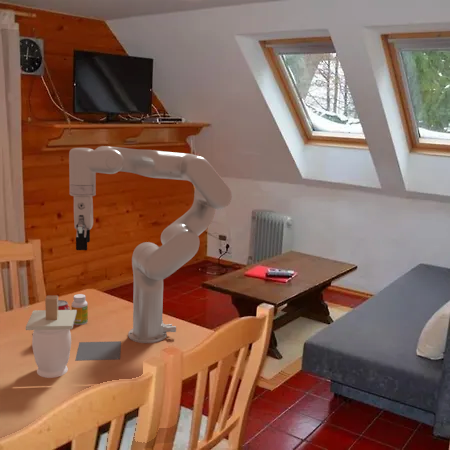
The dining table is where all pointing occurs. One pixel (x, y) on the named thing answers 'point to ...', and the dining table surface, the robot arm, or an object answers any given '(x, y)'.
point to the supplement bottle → (80, 309)
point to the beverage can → (63, 305)
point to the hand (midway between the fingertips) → (83, 245)
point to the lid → (51, 317)
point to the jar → (51, 351)
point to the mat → (98, 351)
